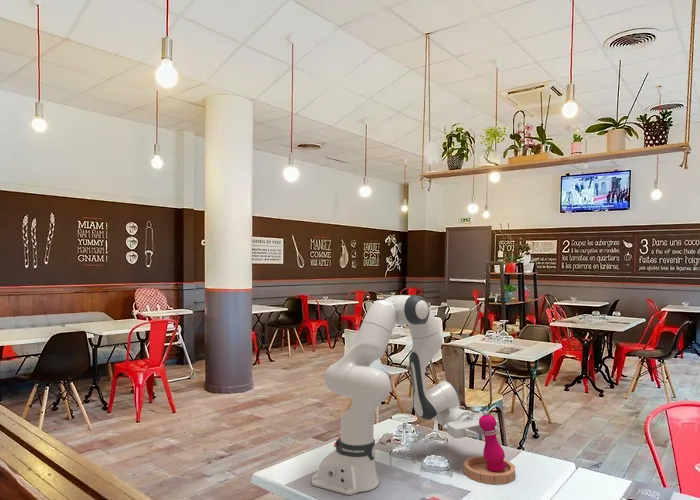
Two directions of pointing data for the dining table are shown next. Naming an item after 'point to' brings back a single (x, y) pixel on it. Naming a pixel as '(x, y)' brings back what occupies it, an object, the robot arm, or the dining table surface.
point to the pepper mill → (491, 443)
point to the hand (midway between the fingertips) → (487, 433)
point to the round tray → (488, 471)
